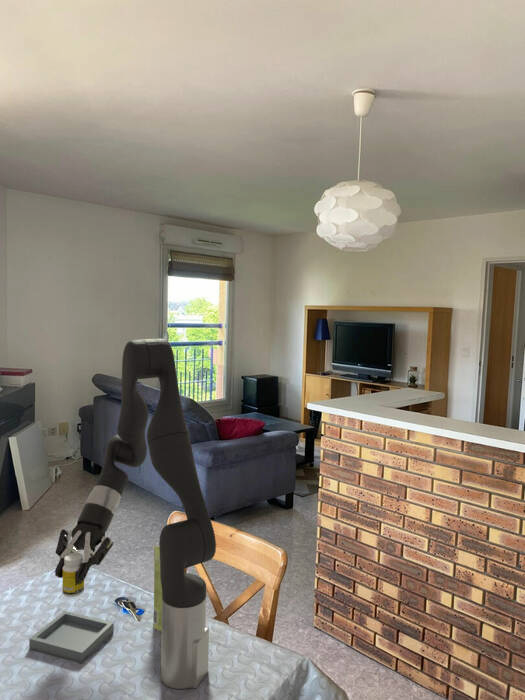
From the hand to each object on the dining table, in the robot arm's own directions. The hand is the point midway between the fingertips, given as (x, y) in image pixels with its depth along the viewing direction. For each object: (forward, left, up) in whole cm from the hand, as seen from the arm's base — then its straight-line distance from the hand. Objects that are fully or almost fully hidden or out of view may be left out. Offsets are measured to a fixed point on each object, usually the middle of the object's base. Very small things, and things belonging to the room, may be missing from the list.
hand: (68, 578), depth 120 cm
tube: (-17, -14, -16) cm, 27 cm away
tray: (0, -2, -16) cm, 16 cm away
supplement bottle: (0, -2, -4) cm, 5 cm away
